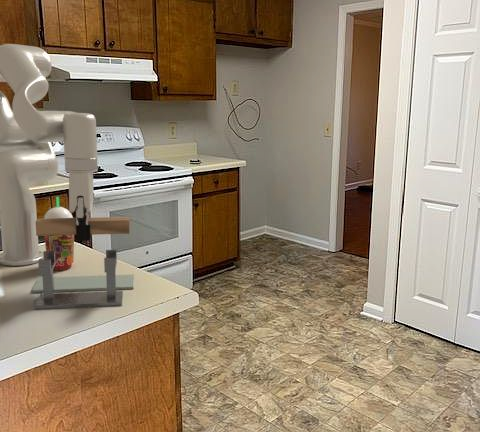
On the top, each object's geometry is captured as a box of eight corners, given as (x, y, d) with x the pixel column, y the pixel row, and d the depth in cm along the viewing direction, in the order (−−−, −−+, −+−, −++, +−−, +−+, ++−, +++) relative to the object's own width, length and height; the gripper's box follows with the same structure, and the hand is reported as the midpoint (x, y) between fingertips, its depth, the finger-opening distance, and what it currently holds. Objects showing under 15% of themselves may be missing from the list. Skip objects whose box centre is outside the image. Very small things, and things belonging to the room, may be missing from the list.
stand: (40, 297, 117) (38, 251, 115) (122, 293, 121) (122, 249, 118) (34, 309, 110) (31, 260, 108) (121, 305, 114) (121, 258, 112)
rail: (39, 232, 122) (38, 218, 122) (129, 230, 127) (129, 216, 126) (36, 235, 119) (35, 221, 118) (129, 233, 123) (129, 220, 123)
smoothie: (66, 273, 133) (63, 201, 129) (38, 270, 135) (34, 198, 130) (82, 264, 141) (79, 195, 137) (55, 261, 143) (52, 193, 138)
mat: (39, 279, 128) (39, 277, 128) (133, 276, 133) (133, 274, 133) (32, 292, 119) (31, 290, 119) (133, 289, 124) (133, 286, 124)
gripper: (69, 160, 126) (72, 230, 130) (59, 169, 111) (64, 248, 115) (99, 161, 128) (102, 229, 132) (94, 169, 112) (97, 247, 116)
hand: (84, 237), depth 123 cm, fingers closed on rail, 3 cm apart
